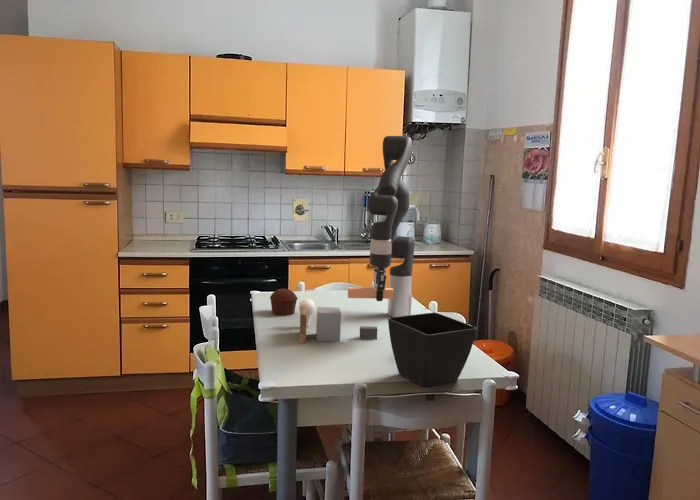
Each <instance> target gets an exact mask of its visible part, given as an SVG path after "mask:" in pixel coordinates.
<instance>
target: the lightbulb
mask: <svg viewBox="0 0 700 500" xmlns="http://www.w3.org/2000/svg"><path fill="white" fill-rule="evenodd" d="M300 305H306V311H307V322H306V328H308V327H310V325H311V324H310V323H311V319H312V315H313V313H314V312H315V309H316V303H315V302H314V301H313V300H312V299H310V298H303V299H302V300H301V301H299V303H298V310H299V311H300Z"/></svg>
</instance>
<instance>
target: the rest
mask: <svg viewBox="0 0 700 500" xmlns="http://www.w3.org/2000/svg"><path fill="white" fill-rule="evenodd" d="M359 339H360V340H378V327H377V326H365V325H364V326H362V325H361V326H359Z"/></svg>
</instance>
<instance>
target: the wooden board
mask: <svg viewBox="0 0 700 500" xmlns="http://www.w3.org/2000/svg"><path fill="white" fill-rule="evenodd" d="M299 312H300V314H299V343H300V344H306V343H307V327H306V322H307V311H306V305H300V310H299Z"/></svg>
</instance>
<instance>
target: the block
mask: <svg viewBox="0 0 700 500" xmlns="http://www.w3.org/2000/svg"><path fill="white" fill-rule="evenodd" d="M341 326H342V312H341V309H340V307H336V306H335V307H334V306H333V307H332V306H331V307H330V306H317V307H316V333H315V334H316V335H315V336H316V341H317V342H341V329H342V328H341Z"/></svg>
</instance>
